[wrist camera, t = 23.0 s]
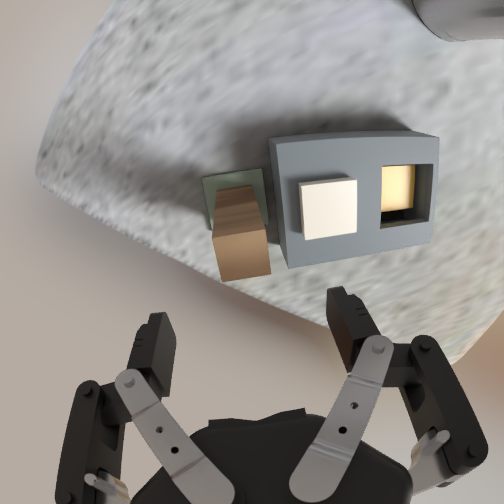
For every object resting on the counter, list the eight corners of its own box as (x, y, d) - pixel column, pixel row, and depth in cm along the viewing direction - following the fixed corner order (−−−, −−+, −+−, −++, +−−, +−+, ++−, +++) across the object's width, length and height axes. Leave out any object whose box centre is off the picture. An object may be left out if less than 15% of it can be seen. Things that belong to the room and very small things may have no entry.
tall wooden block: (216, 190, 28) (212, 238, 19) (251, 184, 28) (265, 229, 19) (222, 222, 30) (222, 282, 20) (255, 216, 30) (271, 274, 20)
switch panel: (267, 137, 27) (276, 144, 22) (412, 130, 27) (439, 137, 23) (279, 245, 33) (288, 268, 28) (408, 224, 33) (430, 242, 28)
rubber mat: (202, 177, 28) (201, 179, 28) (261, 168, 28) (262, 169, 28) (212, 231, 31) (212, 233, 31) (268, 222, 31) (268, 224, 31)
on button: (291, 175, 26) (301, 186, 23) (341, 170, 26) (356, 179, 23) (296, 224, 29) (304, 240, 25) (342, 217, 29) (356, 232, 25)
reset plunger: (368, 163, 28) (376, 167, 26) (405, 161, 28) (415, 165, 26) (368, 206, 31) (376, 212, 29) (403, 201, 31) (412, 207, 29)
